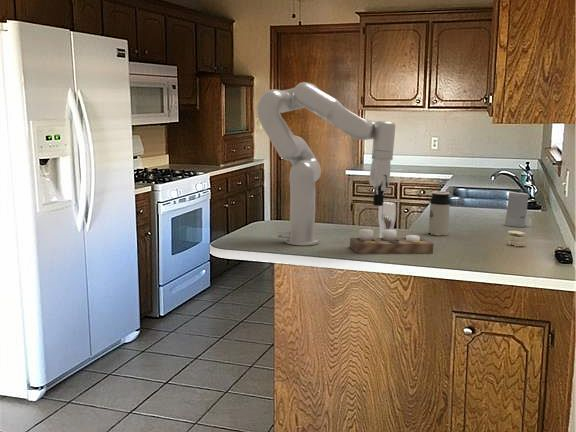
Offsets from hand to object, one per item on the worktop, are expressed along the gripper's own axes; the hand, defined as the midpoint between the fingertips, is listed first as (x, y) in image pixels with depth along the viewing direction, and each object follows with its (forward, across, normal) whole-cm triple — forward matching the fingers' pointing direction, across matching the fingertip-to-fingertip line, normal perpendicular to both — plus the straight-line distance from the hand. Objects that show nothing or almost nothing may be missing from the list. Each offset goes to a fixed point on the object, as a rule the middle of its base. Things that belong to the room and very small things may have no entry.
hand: (377, 205), depth 233 cm
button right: (+15, +1, +15) cm, 21 cm away
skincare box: (+14, -50, +85) cm, 99 cm away
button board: (+16, +3, +6) cm, 17 cm away
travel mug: (+16, -29, +37) cm, 49 cm away
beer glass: (+16, -16, +10) cm, 25 cm away
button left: (+13, 0, -4) cm, 14 cm away
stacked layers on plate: (+15, -4, +59) cm, 61 cm away
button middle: (+13, +1, +5) cm, 14 cm away
